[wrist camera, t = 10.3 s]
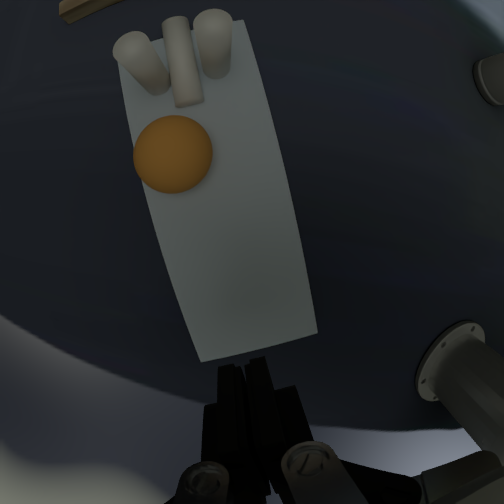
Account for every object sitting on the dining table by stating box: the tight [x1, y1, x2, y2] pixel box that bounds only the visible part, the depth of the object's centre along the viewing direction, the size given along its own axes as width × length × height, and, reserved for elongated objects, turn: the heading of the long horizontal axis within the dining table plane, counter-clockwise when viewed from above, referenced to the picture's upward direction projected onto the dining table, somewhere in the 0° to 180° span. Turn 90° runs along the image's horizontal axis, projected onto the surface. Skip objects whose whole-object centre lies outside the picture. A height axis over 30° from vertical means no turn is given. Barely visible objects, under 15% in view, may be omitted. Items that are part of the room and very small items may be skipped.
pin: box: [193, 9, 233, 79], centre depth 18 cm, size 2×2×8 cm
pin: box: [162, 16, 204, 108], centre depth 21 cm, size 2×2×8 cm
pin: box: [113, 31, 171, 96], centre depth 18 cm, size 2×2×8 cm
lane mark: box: [118, 20, 318, 362], centre depth 25 cm, size 31×12×1 cm, turn 14°
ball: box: [133, 115, 213, 194], centre depth 21 cm, size 6×6×6 cm
